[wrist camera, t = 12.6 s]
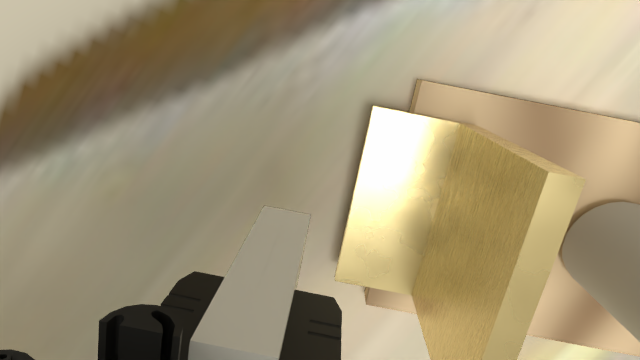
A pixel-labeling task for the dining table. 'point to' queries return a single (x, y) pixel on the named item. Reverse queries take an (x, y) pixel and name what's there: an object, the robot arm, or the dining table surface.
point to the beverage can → (608, 259)
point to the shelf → (600, 188)
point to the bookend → (456, 229)
